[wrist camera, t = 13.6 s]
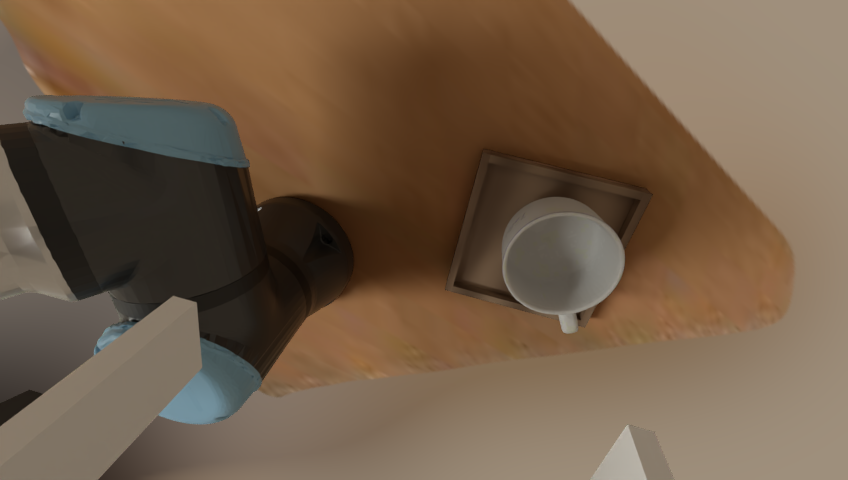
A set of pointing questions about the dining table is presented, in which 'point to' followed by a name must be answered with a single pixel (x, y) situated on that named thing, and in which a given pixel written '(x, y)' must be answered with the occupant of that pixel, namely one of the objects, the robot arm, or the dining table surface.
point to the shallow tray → (512, 190)
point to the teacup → (560, 258)
